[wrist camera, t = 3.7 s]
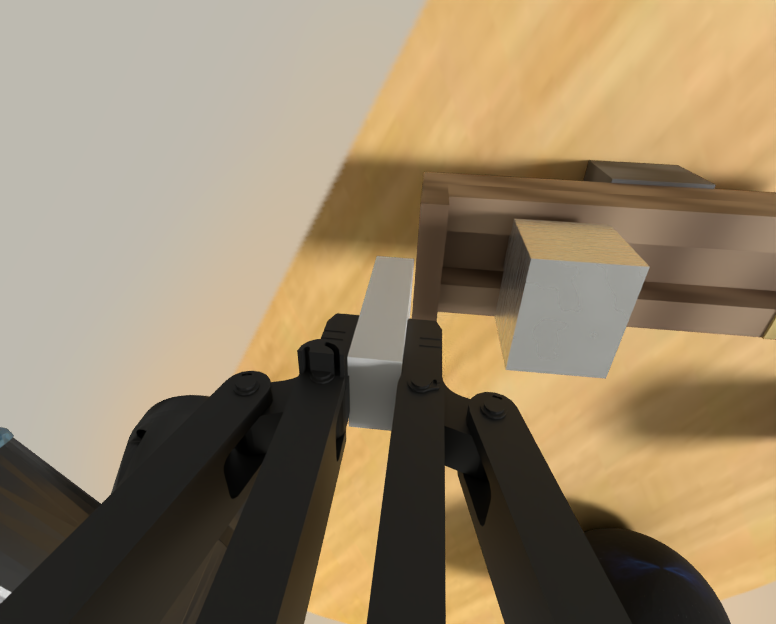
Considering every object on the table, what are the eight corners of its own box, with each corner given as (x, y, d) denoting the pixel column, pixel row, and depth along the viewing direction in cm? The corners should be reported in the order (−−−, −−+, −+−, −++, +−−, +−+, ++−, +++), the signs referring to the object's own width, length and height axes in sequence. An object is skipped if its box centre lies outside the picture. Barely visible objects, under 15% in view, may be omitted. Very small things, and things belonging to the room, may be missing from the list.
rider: (489, 291, 23) (505, 369, 18) (505, 199, 21) (531, 258, 15) (565, 296, 23) (605, 378, 18) (591, 204, 20) (650, 266, 15)
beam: (418, 250, 29) (411, 325, 22) (425, 151, 26) (421, 198, 18) (793, 276, 28) (930, 368, 20) (853, 175, 24) (1047, 238, 17)
